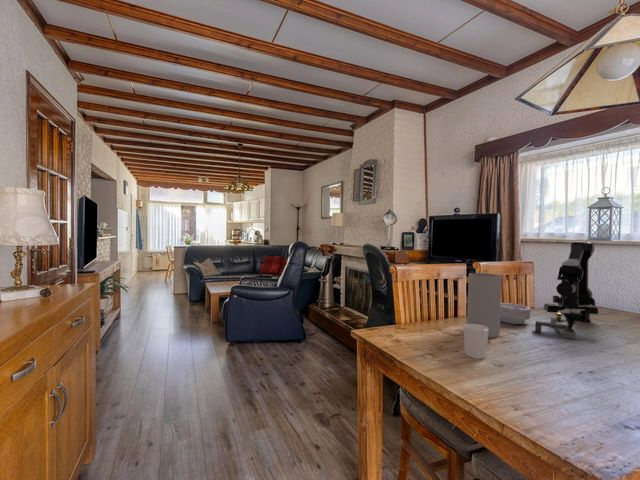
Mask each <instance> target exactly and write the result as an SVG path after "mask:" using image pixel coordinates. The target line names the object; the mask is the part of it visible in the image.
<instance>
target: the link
mask: <svg viewBox="0 0 640 480" xmlns="http://www.w3.org/2000/svg"><path fill="white" fill-rule="evenodd" d="M550 323H554V324H560V325H566V329H559V328H555V329H556V330H557V331H558V333H559V334H560V335H561V336H562V337H563V338H567V339H575V340H576V337H577V332H576V331H575V330H574V329H573V328H571V327H570V326H569V325H568V323H567V320H566V318H562V317H561V319H556V316H555V317H554V316H553V317H550Z"/></svg>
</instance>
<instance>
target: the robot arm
mask: <svg viewBox="0 0 640 480" xmlns="http://www.w3.org/2000/svg"><path fill="white" fill-rule="evenodd" d="M594 252H595V245H594V244H593V243H592V242H588V241H587V242H586V241H577V240H575V241H572V242H571V243H570V252H569V256H568V258H567V260H564V261H563V262H562V264H561V265H560V267H559V270H558V275H557V280H558V281H561V282H560V283H558V284H557V285H556V292H557V293H558V295H552V302H553V303H545V304H543V310H544V311H546V312H548V313H555V312H556V313H557V312H558V313H562V314H563V316H564V319H565V320H567V322H566V323H567V324H568V325H569V326H570V327H571V328H572V327H573V326H574V325H575V323H576V321H581V322H587V323H588V322H589V323H591V321H592V318H591V315H598V314H599V308H598V307H597V306H596V300H595V298H594V297H593V292H592V290H591V289H590V287H589V261H590V260H589V259H590V258H591V257H592V256H593V254H594ZM559 295H560V296H559ZM572 329H573V328H572Z"/></svg>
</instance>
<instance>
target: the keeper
mask: <svg viewBox="0 0 640 480" xmlns="http://www.w3.org/2000/svg"><path fill="white" fill-rule="evenodd" d="M542 326H543V327H546V328H547V327H548V328H555V329H556V328H559V329H566V325H560V324H554V323H551V322H546V321H541V320H540V321H539V320H536V321H535V327H534V329H533V330H532V331H531V333H532V334H537V335H544V334H545V331H543V330H542Z"/></svg>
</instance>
